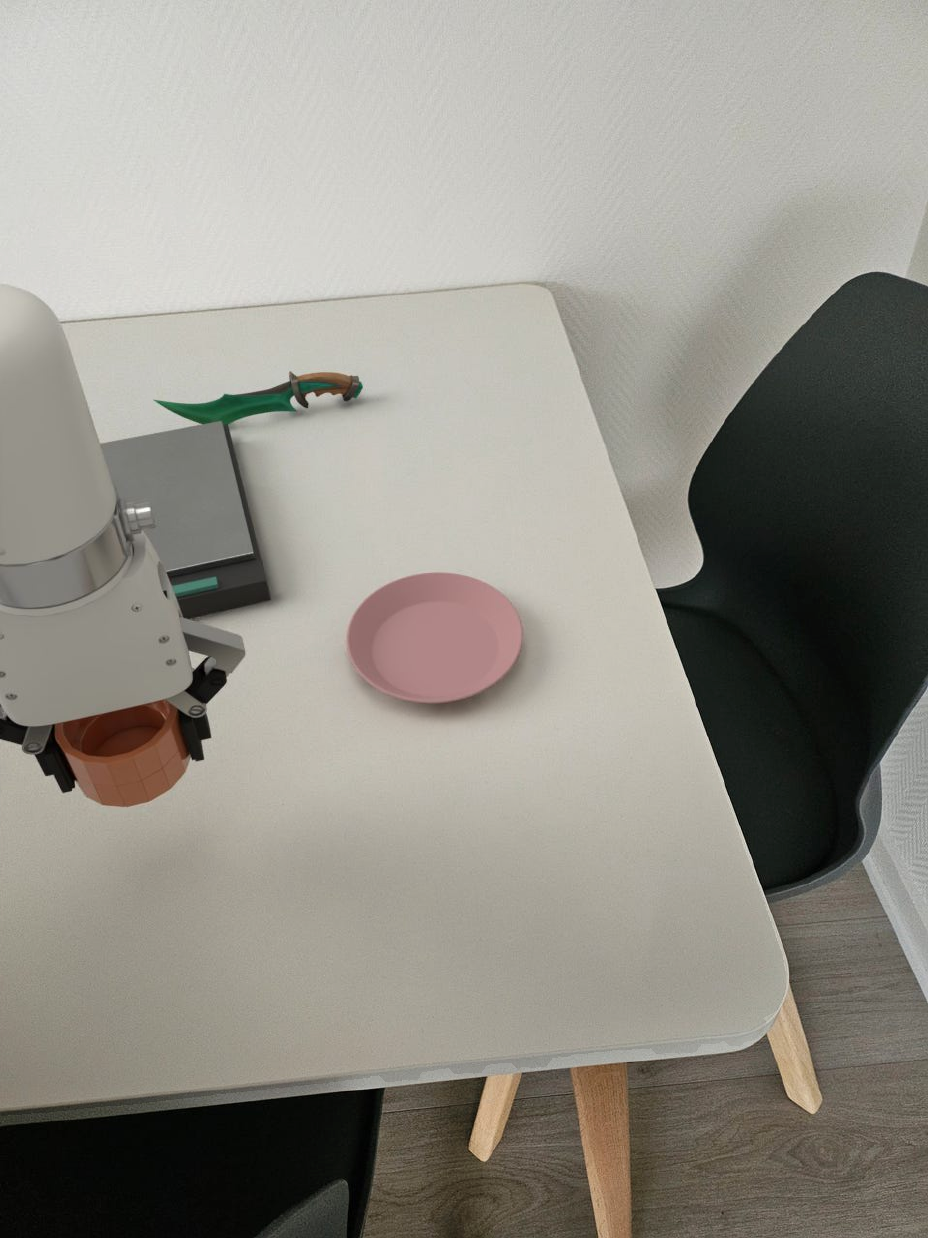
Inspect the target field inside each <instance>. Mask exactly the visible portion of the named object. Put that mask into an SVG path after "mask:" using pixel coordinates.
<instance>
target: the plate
mask: <svg viewBox="0 0 928 1238" xmlns="http://www.w3.org/2000/svg"><path fill="white" fill-rule="evenodd" d="M523 640H524V630H523V624H522V620H521V617H520V614H519V612H518V611H517V609H516V608H515V606H514V605H513V604H512V602H511V601H510V600H509V599H508V597H506V596H505V595H504V593H502V592H500V590H498V589H496V588H495V587H494V586H492V585H490V584H488V583H487V582H484V581H482V580H480V579H477V578H475V577H473V576H472V577H471V576H468V575H465V574H460V573H454V572H443V571H442V572H440V571H439V572H438V571H437V572H422V573H416V574H412V575H407V576H404V577H401V578H398V579H396V580H393V581H390V582H389V583H387V584H385V585H383V586H380V587H379V588H378V589H376V590H375V591H374V592H372V593H371V594H370V595H369V596H367V597H366V598H365V599H364V600H363V601H362V602H361V603H360V604H359V605H358V607H357V608H356V610H355V611H354V613H353V615H352V616H351V618H350V621H349V623H348V627H347V631H346V649H347V650H346V651H347V654H348V657H349V660H350V662H351V664H352V666H353V667H354V669H355V671H356V672H357V673H358V675H360V677H362V679H363V680H364V681H366V682H367V683H368V684H369V685H370V686H372V687H374V689H376V690H377V691H380V692H382V693H383V694H385V695H388V696H391V697H393V698H396V699H399V700H402V701H407V702H412V703H419V704H444V703H451V702H457V701H461V700H466V699H468V698H471V697H473V696H476V695H478V694H480V693H483V692H485V691H486V690H488V689H490V688H491V687H493V686H494V685H495V684H498V682H500V681H501V680H502V679H503V678H504V677H506V675H507V674H508V673H509V672H510V671H511V669H512V668H513V666H514V665H515V663H516V662H517V660H518V658H519V656H520V654H521V650H522V647H523V642H524V641H523Z"/></svg>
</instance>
